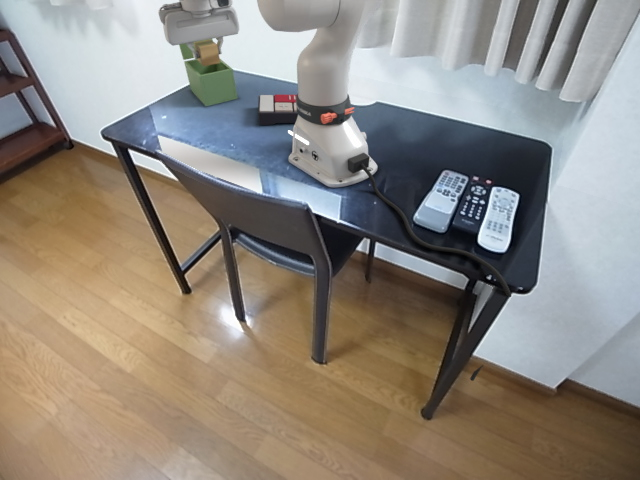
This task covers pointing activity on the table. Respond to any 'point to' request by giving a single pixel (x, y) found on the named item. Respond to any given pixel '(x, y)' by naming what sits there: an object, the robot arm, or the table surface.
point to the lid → (187, 50)
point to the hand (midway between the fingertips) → (208, 56)
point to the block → (207, 52)
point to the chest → (211, 82)
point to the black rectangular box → (277, 109)
